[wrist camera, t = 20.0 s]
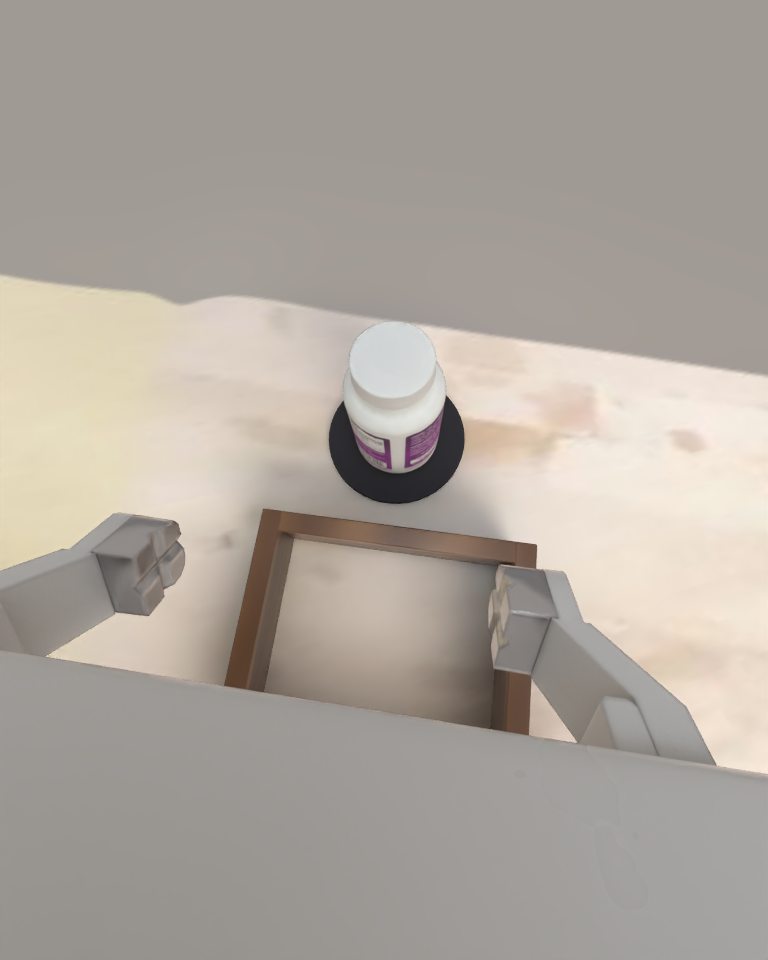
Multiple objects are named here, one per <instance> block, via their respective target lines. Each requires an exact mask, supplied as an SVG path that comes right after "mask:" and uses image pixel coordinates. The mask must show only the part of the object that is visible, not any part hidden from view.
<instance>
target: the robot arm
mask: <svg viewBox="0 0 768 960" xmlns="http://www.w3.org/2000/svg"><path fill="white" fill-rule="evenodd" d="M180 535H181V532H180V528H179V524H178V523H177V522H175V521H173V520H167V519H160V518H154V517H148V516H141V515H133V514H127V513H115V514H112V515H111V516H110V517H109V518H107V519H106V520H105V521H104V522H102V523H101V524H100V525H99V526H97V527H96V528H95V529H94V530H93V531H91V532H90V533H89V534H88V535H86V536H85V537H84V538H83V539H81V540H80V541H79V542H78V543H76V544H75V545H74V546H73V547H71V548H70V549H69V550H68V549H61V550H58V551H55V552H52V553H50V554H47V555H44V556H41V557H38V558H36V559H33V560H30V561H27V562H24V563H21V564H19V565H16V566H13V567H10V568H7V569H4V570H2V571H0V960H768V774H763V773H757V772H751V771H745V770H739V769H732V768H726V767H720V766H717V765H716V763H715V761H714V759H713V757H712V755H711V754H710V752H709V750H708V748H707V746H706V744H705V742H704V740H703V738H702V736H701V734H700V732H699V730H698V728H697V726H696V724H695V723H694V721H693V719H692V717H691V715H690V713H689V711H688V709H687V707H686V706H685V705H684V704H683V703H681V702H680V701H679V700H678V699H677V698H676V697H675V696H673V695H672V694H671V693H670V692H669V691H668V690H666V689H665V688H664V687H663V686H662V685H661V684H660V683H658V682H657V681H656V680H655V679H654V678H653V677H652V676H650V675H649V674H648V673H647V672H646V671H645V670H643V669H642V668H641V667H640V666H639V665H638V664H637V663H635V662H634V661H633V660H632V659H631V658H630V657H628V656H627V655H626V654H625V653H624V652H623V651H622V650H620V649H619V648H618V647H617V646H616V645H615V644H614V643H612V642H611V641H610V640H609V639H608V638H607V637H605V636H604V635H603V634H602V633H601V632H600V631H599V630H597V629H596V628H595V627H594V626H593V625H592V624H590V623H584V621H583V618H582V616H581V613H580V610H579V608H578V605H577V602H576V600H575V597H574V594H573V592H572V589H571V586H570V584H569V581H568V578H567V575H566V574H565V573H564V572H563V571H555V570H545V569H541V570H540V569H532V568H524V567H517V566H509V565H501V564H499V566H498V568H497V571H496V575H495V581H496V588H495V589H493V590H492V591H491V595H490V600H489V607H488V626H489V630H490V631H491V633H492V634H493V637H492V641H491V653H492V661H493V669H498V670H504V671H510V672H515V673H521V674H526V675H531V678H532V680H533V681H534V683H535V684H536V685H537V687H538V688H539V689H540V691H541V692H542V694H543V695H544V696H545V698H546V699H547V701H548V702H549V703H550V705H551V706H552V707H553V709H554V710H555V712H556V713H557V714H558V716H559V717H560V719H561V720H562V721H563V723H564V724H565V725H566V727H567V728H568V730H569V731H570V732H571V734H572V735H573V737H574V738H575V739H576V741H577V742H578V743H572V742H566V741H560V740H554V739H548V738H542V737H536V736H529V735H523V734H517V733H511V732H505V731H499V730H492V729H486V728H480V727H474V726H468V725H462V724H456V723H449V722H443V721H437V720H431V719H425V718H419V717H412V716H406V715H400V714H394V713H388V712H382V711H376V710H369V709H363V708H357V707H351V706H345V705H339V704H332V703H326V702H320V701H314V700H308V699H302V698H296V697H289V696H283V695H277V694H271V693H265V692H259V691H253V690H246V689H240V688H234V687H228V686H222V685H216V684H209V683H203V682H197V681H191V680H185V679H179V678H172V677H166V676H160V675H154V674H148V673H141V672H135V671H129V670H123V669H117V668H111V667H104V666H98V665H92V664H86V663H80V662H74V661H67V660H61V659H55V658H49V657H45V656H47V655H48V654H50V653H52V652H53V651H55V650H57V649H58V648H60V647H61V646H63V645H65V644H66V643H68V642H70V641H71V640H73V639H75V638H76V637H78V636H80V635H81V634H83V633H85V632H86V631H88V630H89V629H91V628H93V627H94V626H96V625H98V624H99V623H101V622H103V621H104V620H106V619H108V618H109V617H111V616H113V615H114V614H115V612H118V613H126V614H134V615H143V616H149V615H150V614H151V613H152V612H153V610H154V609H155V608H156V607H157V605H158V604H159V603H160V602H161V600H162V599H163V598H164V597H165V596H164V589H165V588H167V587H169V586H171V585H173V584H175V583H176V581H177V580H178V579H179V577H180V576H181V574H182V571H183V568H184V566H185V552H184V548H183V547H182V546H181V545H180V544H179V542H178V541H177V539H178V538H179V537H180Z"/></svg>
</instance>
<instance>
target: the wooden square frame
mask: <svg viewBox="0 0 768 960" xmlns="http://www.w3.org/2000/svg"><path fill="white" fill-rule="evenodd" d="M294 538H295V539H302V540H309V541H317V542H324V543H331V544H339V545H346V546H353V547H361V548H368V549H375V550H383V551H390V552H397V553H405V554H412V555H419V556H427V557H434V558H441V559H449V560H456V561H464V562H471V563H478V564H486V565H493V566H499V564H501V565H509V566H517V567H524V568H532V569H536V559H537V545H536V544H529V543H521V542H513V541H506V540H498V539H491V538H483V537H475V536H468V535H460V534H453V533H445V532H437V531H430V530H422V529H414V528H407V527H399V526H392V525H384V524H376V523H369V522H361V521H354V520H346V519H338V518H331V517H323V516H315V515H308V514H300V513H293V512H285V511H278V510H270V509H263V512H262V516H261V521H260V525H259V530H258V534H257V539H256V544H255V548H254V553H253V557H252V562H251V566H250V571H249V575H248V580H247V584H246V589H245V593H244V598H243V602H242V607H241V612H240V616H239V621H238V625H237V630H236V634H235V639H234V643H233V648H232V652H231V657H230V661H229V666H228V671H227V675H226V680H225V684H224V686H228V687H234V688H240V689H246V690H253V691H259V692H264V688H265V683H266V678H267V673H268V668H269V662H270V657H271V652H272V647H273V642H274V637H275V632H276V627H277V622H278V617H279V612H280V607H281V602H282V597H283V591H284V586H285V581H286V576H287V571H288V566H289V561H290V556H291V551H292V546H293V541H294ZM530 696H531V675H526V674H521V673H515V672H510V671H504V670H498V669H495V670H494V686H493V701H492V716H491V729H492V730H499V731H505V732H511V733H517V734H523V735H529V718H530Z"/></svg>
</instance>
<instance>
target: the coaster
mask: <svg viewBox="0 0 768 960" xmlns="http://www.w3.org/2000/svg"><path fill="white" fill-rule="evenodd" d="M329 447H330V453H331V457H332V460H333V462H334V465H335V467H336V469H337V470H338V472H339V474H340V475H341V477H342V478H343V479H344V480H345V482H346V483H347V484H348V485H349V486H350V487H352V488H353V489H354V490H355V491H357V492H358V493H360V494H362V495H363V496H365V497H368V498H370V499H372V500H376V501H379V502H385V503H398V504H400V503H409V502H413V501H417V500H420V499H422V498H425V497H427V496H429V495H431V494H433V493H434V492H436V491H437V490H439V489H440V488H441V487H442V486H443V485H444V484H445V483H447V482H448V480H449V479H450V478H451V477H452V475H453V474H454V472H455V471H456V469H457V467H458V465H459V462H460V460H461V457H462V454H463V450H464V428H463V424H462V420H461V417H460V415H459V413H458V411H457V409H456V407H455V406H454V404H453V403H452V402H451V400H450V399H449V398H448V397H447V396H446V399H445V404H444V410H443V416H442V421H441V426H440V432H439V437H438V441H437V445H436V448H435V450H434V452H433V454H432V455H431V457H430V458H429V459H428V461H427V462H426V463H425V464H423V465H422V466H421V467H419V468H417V469H415V470H413V471H410V472H406V473H389V472H385V471H382V470H380V469H378V468H376V467H374V466H373V465H371V464H370V463H369V462H368V461H367V460H366V459H365V458H364V456H363V455H362V453H361V452H360V450H359V447H358V445H357V442H356V439H355V435H354V433H353V429H352V426H351V422H350V419H349V416H348V413H347V410H346V407H345V404H344V401H343V402H342V403H341V405H340V406H339V408H338V409H337V411H336V413H335V415H334V417H333V420H332V423H331V427H330V432H329Z"/></svg>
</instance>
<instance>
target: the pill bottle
mask: <svg viewBox="0 0 768 960" xmlns="http://www.w3.org/2000/svg"><path fill="white" fill-rule="evenodd" d="M343 398H344V404H345V407H346V410H347V413H348V416H349V419H350V422H351V426H352V429H353V433H354V435H355V439H356V442H357V445H358V447H359V450H360V452H361V453H362V455H363V456H364V458H365V459H366V460H367V461H368V462H369V463H370V464H371V465H373V466H374V467H376V468H378V469H380V470H382V471H385V472H389V473H406V472H410V471H413V470H415V469H417V468H419V467H421V466H422V465H423V464H425V463H426V462H427V461H428V459H429V458H430V457H431V455H432V454H433V452H434V450H435V448H436V445H437V441H438V437H439V432H440V426H441V421H442V416H443V410H444V404H445V399H446V382H445V377H444V374H443V371H442V369H441V367H440V365H439V364H438V362H437V361H436V353H435V349H434V346H433V344H432V342H431V340H430V339H429V337H428V336H427V335H426V334H425V333H424V332H423V331H422V330H421V329H419V328H418V327H416V326H414V325H411V324H409V323H405V322H400V321H387V322H382V323H378V324H376V325H373V326H371V327H369V328H368V329H366V330H365V331H364V332H363V333H361V334H360V335H359V336H358V338H357V339H356V340H355V342H354V343H353V345H352V348H351V350H350V354H349V368H348V370H347V372H346V375H345V378H344V382H343Z"/></svg>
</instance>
